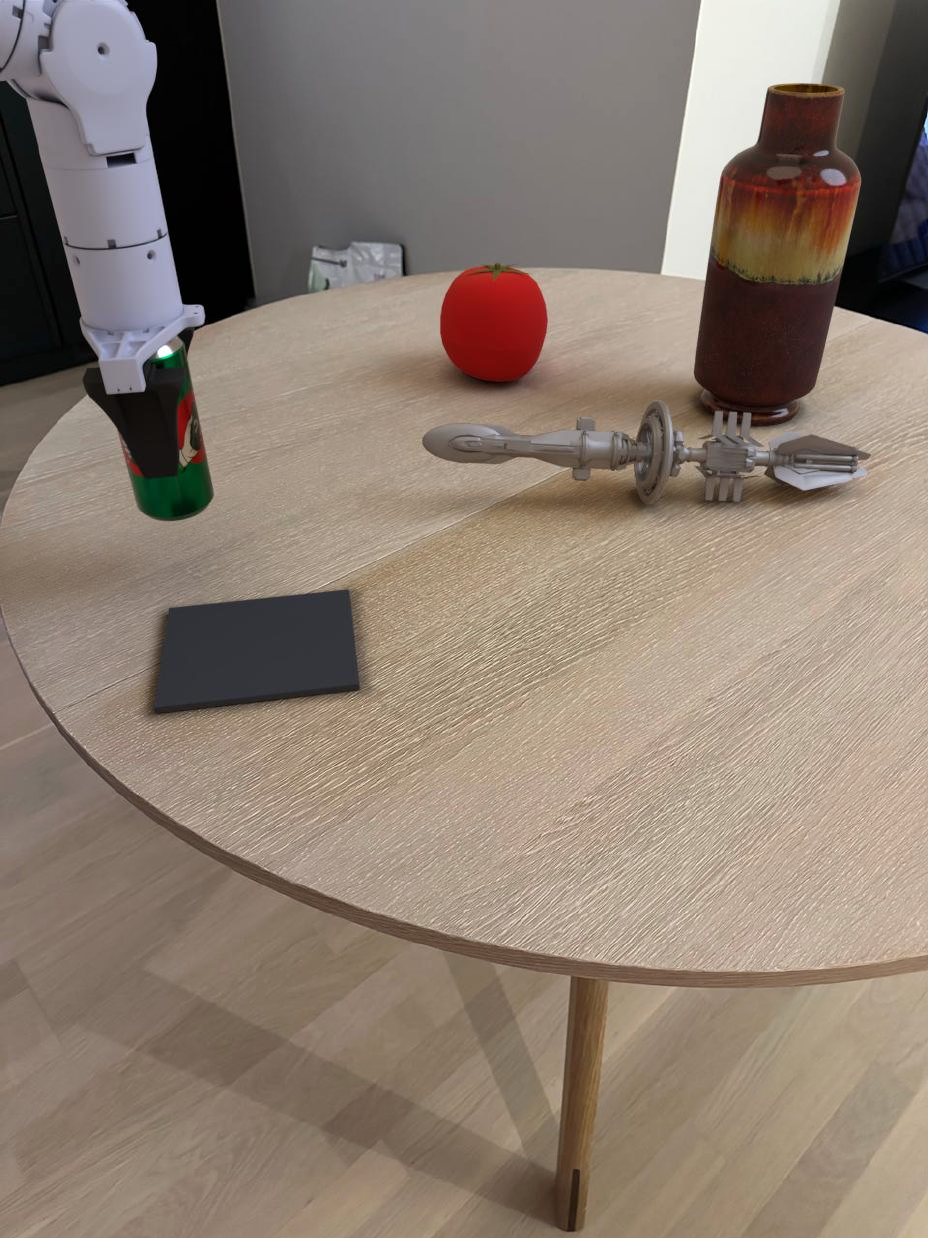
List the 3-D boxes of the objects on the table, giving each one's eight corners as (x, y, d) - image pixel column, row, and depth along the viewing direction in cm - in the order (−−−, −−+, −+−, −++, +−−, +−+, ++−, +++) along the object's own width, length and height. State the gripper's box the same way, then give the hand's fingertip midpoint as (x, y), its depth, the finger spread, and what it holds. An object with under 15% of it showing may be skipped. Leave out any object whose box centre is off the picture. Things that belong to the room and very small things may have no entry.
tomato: (488, 404, 88) (488, 289, 82) (422, 372, 95) (417, 263, 88) (568, 376, 93) (574, 266, 87) (500, 347, 100) (501, 242, 94)
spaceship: (421, 385, 72) (427, 386, 65) (848, 410, 76) (902, 414, 68) (417, 487, 74) (422, 500, 66) (833, 507, 78) (883, 521, 70)
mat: (155, 714, 54) (153, 707, 54) (170, 613, 62) (168, 607, 62) (359, 689, 56) (359, 683, 55) (349, 594, 64) (348, 588, 63)
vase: (756, 374, 93) (811, 74, 77) (836, 415, 85) (915, 91, 69) (665, 395, 89) (703, 84, 74) (739, 440, 81) (799, 103, 66)
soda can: (205, 481, 65) (171, 311, 58) (223, 514, 62) (189, 336, 54) (132, 498, 64) (87, 324, 56) (146, 532, 60) (100, 351, 53)
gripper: (178, 269, 47) (223, 504, 55) (197, 201, 58) (232, 404, 66) (32, 277, 46) (100, 515, 54) (80, 207, 57) (130, 412, 66)
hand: (165, 455), depth 60 cm, fingers closed on soda can, 5 cm apart
